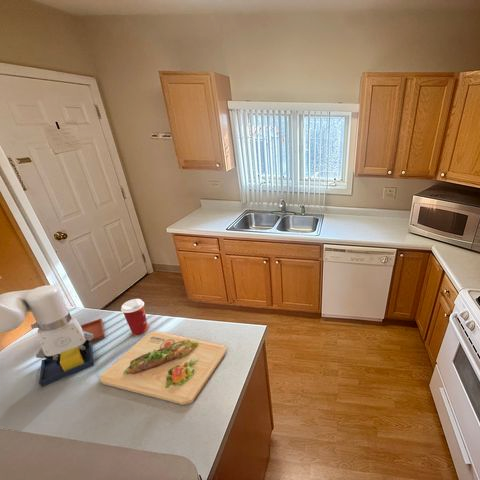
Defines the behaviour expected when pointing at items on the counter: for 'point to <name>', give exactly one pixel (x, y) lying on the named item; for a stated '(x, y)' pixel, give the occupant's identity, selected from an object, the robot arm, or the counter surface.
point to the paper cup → (135, 316)
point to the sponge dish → (94, 329)
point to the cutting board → (165, 367)
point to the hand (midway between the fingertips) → (73, 360)
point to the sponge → (71, 358)
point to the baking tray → (55, 372)
